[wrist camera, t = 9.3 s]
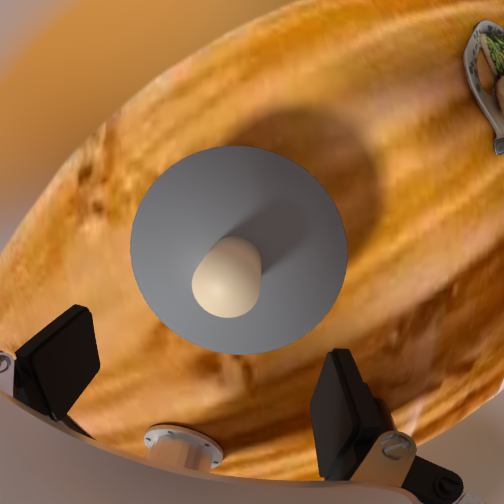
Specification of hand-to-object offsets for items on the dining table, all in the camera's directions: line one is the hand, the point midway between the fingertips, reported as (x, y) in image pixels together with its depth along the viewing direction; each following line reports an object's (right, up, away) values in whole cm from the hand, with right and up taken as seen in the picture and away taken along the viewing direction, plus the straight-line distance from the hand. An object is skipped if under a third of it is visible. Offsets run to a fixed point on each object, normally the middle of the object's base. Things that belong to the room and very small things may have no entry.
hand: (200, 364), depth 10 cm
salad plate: (+34, +24, +8) cm, 42 cm away
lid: (+1, +4, +9) cm, 10 cm away
